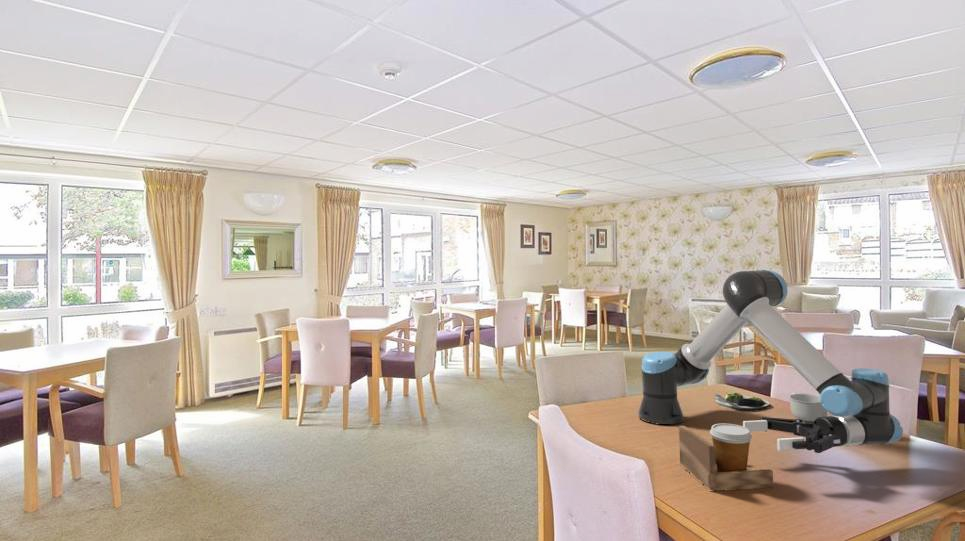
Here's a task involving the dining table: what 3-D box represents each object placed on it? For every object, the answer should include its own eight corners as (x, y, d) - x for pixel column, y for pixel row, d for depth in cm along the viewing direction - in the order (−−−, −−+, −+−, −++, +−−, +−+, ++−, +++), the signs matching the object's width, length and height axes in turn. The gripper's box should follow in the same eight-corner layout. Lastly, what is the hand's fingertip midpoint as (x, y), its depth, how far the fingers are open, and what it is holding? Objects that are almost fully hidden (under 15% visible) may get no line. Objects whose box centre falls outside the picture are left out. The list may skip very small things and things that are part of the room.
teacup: (834, 425, 155) (833, 401, 155) (798, 424, 157) (797, 400, 157) (813, 412, 169) (812, 390, 169) (780, 411, 171) (780, 390, 171)
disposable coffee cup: (703, 469, 122) (701, 424, 122) (736, 466, 123) (734, 421, 123) (727, 486, 113) (725, 436, 113) (762, 482, 114) (760, 433, 114)
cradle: (735, 462, 128) (734, 422, 128) (773, 487, 113) (771, 442, 113) (680, 465, 127) (678, 425, 127) (710, 491, 112) (709, 446, 112)
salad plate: (701, 401, 188) (700, 390, 188) (731, 395, 195) (731, 384, 195) (744, 414, 170) (744, 402, 170) (776, 407, 177) (776, 395, 177)
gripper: (881, 464, 110) (795, 469, 109) (802, 429, 135) (732, 433, 133) (879, 432, 110) (794, 437, 109) (801, 403, 135) (731, 407, 133)
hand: (760, 435), depth 121 cm, fingers open, 13 cm apart
